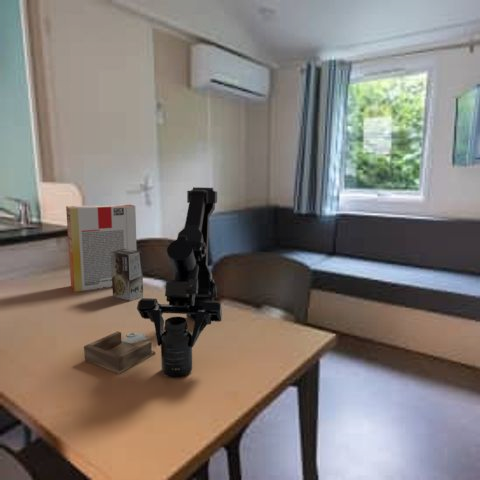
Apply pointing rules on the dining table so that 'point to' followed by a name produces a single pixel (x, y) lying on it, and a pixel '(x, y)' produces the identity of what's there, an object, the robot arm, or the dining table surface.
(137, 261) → the coffee box
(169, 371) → the supplement bottle
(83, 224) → the pasta box
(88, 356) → the walnut well
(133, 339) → the mounting bracket
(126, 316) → the dining table surface
